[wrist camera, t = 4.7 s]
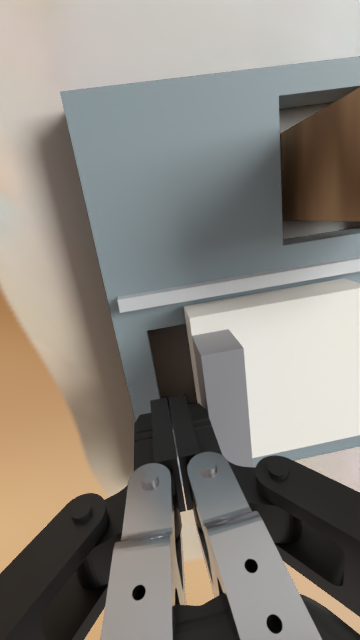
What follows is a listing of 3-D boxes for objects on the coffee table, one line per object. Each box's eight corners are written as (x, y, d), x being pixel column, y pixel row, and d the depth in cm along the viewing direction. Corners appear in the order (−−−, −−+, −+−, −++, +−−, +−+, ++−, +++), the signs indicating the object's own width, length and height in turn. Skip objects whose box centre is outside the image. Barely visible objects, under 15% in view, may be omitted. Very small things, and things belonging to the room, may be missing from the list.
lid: (183, 306, 15) (198, 335, 11) (343, 278, 15) (407, 297, 12) (203, 442, 17) (220, 502, 14) (338, 414, 18) (389, 463, 14)
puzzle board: (70, 108, 13) (55, 85, 11) (431, 64, 15) (489, 34, 12) (150, 465, 20) (151, 500, 18) (393, 414, 21) (426, 439, 19)
